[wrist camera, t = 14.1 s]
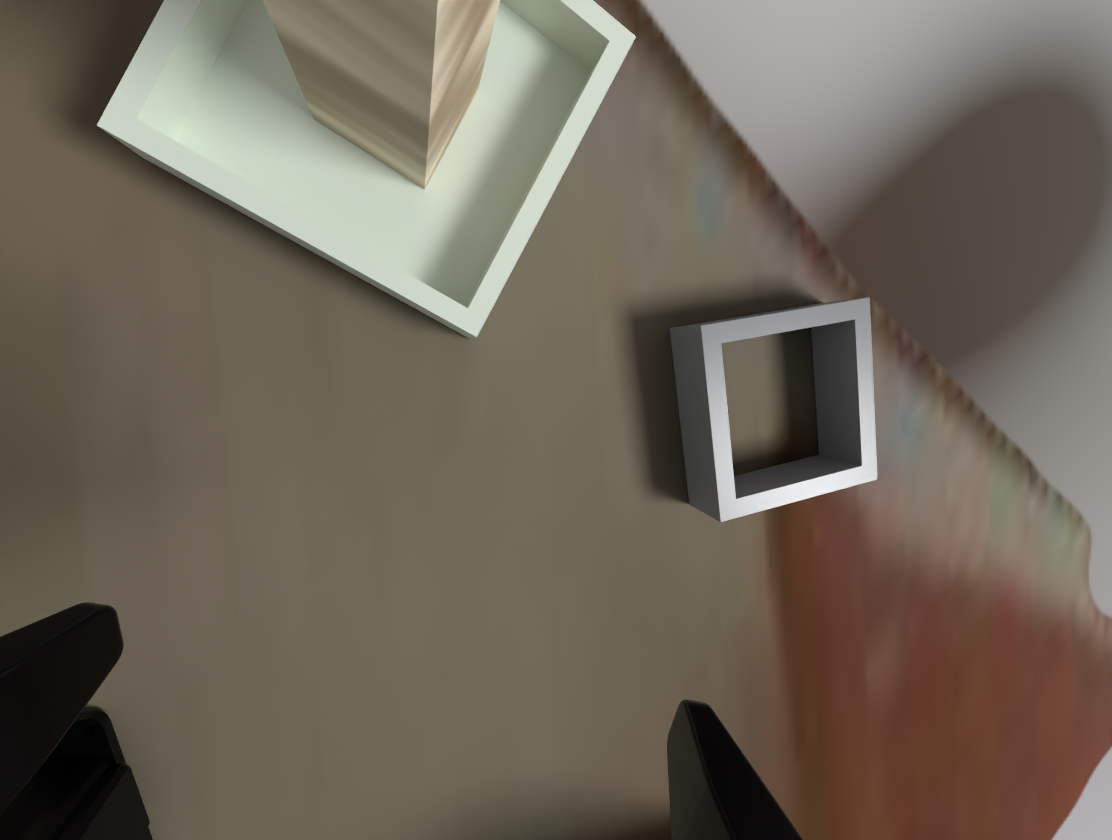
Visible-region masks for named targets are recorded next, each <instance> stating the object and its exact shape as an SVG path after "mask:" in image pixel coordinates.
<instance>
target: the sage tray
mask: <svg viewBox="0 0 1112 840" xmlns="http://www.w3.org/2000/svg"><path fill="white" fill-rule="evenodd" d="M635 37H636V36H635V35H633V34H632V33H631V32H630V31H629V30H627V29H626V28H625V27H624V26H623V25H622V24H620V23H619V22H618V21H617V20H616V19H614V18H613V17H612V16H611V15H610V14H608V13H607V12H606V11H605V10H604V9H602V8H601V7H600V6H599V5H598V4H597V3H595V2H594V1H593V0H500V3H499V7H498V11H497V15H496V19H495V23H494V27H493V31H492V35H491V39H490V43H489V47H488V51H487V55H486V59H485V63H484V67H483V71H482V75H481V79H480V84H479V88H478V91H477V93H476V95H475V97H474V99H473V100H472V102H471V104H470V106H469V108H468V110H467V112H466V114H465V115H464V117H463V119H462V121H461V123H460V125H459V127H458V128H457V130H456V132H455V134H454V136H453V138H452V140H451V142H450V143H449V145H448V147H447V149H446V151H445V153H444V155H443V156H442V158H441V160H440V162H439V164H438V166H437V168H436V169H435V171H434V173H433V175H432V177H431V179H430V181H429V183H428V184H427V186H426V188H425V189H423V188H421V187H420V186H418V185H417V184H415V183H414V182H412V181H410V180H409V179H407V178H406V177H404V176H403V175H401V174H399V173H398V172H396V171H395V170H393V169H392V168H390V167H388V166H387V165H385V164H384V163H382V162H381V161H379V160H377V159H376V158H374V157H373V156H371V155H370V154H368V153H366V152H365V151H363V150H362V149H360V148H358V147H357V146H355V145H354V144H352V143H351V142H349V141H347V140H346V139H344V138H343V137H341V136H340V135H338V134H336V133H335V132H333V131H332V130H330V129H329V128H327V127H325V126H324V125H322V124H321V123H319V122H318V121H316V120H314V118H313V116H312V114H311V111H310V109H309V107H308V104H307V102H306V100H305V97H304V95H303V93H302V90H301V88H300V86H299V84H298V81H297V79H296V77H295V74H294V72H293V70H292V67H291V65H290V63H289V60H288V58H287V56H286V54H285V51H284V49H283V47H282V44H281V42H280V40H279V37H278V35H277V33H276V30H275V28H274V26H273V23H272V21H271V19H270V17H269V14H268V12H267V10H266V7H265V5H264V3H263V0H164V1H163V3H162V5H161V7H160V9H159V11H158V13H157V14H156V16H155V18H154V20H153V22H152V24H151V26H150V27H149V29H148V31H147V33H146V35H145V37H144V38H143V40H142V42H141V44H140V46H139V48H138V50H137V51H136V53H135V55H134V57H133V59H132V61H131V63H130V64H129V66H128V68H127V70H126V72H125V74H124V76H123V77H122V79H121V81H120V83H119V85H118V87H117V89H116V90H115V92H114V94H113V96H112V98H111V100H110V102H109V103H108V105H107V107H106V109H105V111H104V113H103V115H102V116H101V118H100V120H99V122H98V124H97V126H98V127H100V128H101V129H103V130H104V131H105V132H107V133H108V134H110V135H111V136H113V137H114V138H115V139H117V140H118V141H120V142H121V143H122V144H124V145H125V146H127V147H128V148H130V149H131V150H132V151H134V152H135V153H137V154H138V155H139V156H141V157H142V158H144V159H146V160H147V161H149V162H151V163H153V164H155V165H156V166H158V167H160V168H162V169H164V170H165V171H167V172H169V173H171V174H173V175H174V176H176V177H178V178H180V179H182V180H183V181H185V182H187V183H189V184H191V185H192V186H194V187H196V188H198V189H200V190H202V191H203V192H205V193H207V194H209V195H211V196H212V197H214V198H216V199H218V200H220V201H221V202H223V203H225V204H227V205H229V206H230V207H232V208H234V209H236V210H238V211H239V212H241V213H243V214H245V215H247V216H248V217H250V218H252V219H254V220H256V221H257V222H259V223H261V224H263V225H265V226H267V227H268V228H270V229H272V230H274V231H276V232H277V233H279V234H281V235H283V236H285V237H286V238H288V239H290V240H292V241H294V242H295V243H297V244H299V245H301V246H303V247H304V248H306V249H308V250H310V251H312V252H313V253H315V254H317V255H319V256H321V257H323V258H324V259H326V260H328V261H330V262H332V263H333V264H335V265H337V266H339V267H341V268H342V269H344V270H346V271H348V272H350V273H351V274H353V275H355V276H357V277H359V278H360V279H362V280H364V281H366V282H368V283H369V284H371V285H373V286H375V287H377V288H378V289H380V290H382V291H384V292H386V293H388V294H389V295H391V296H393V297H395V298H397V299H398V300H400V301H402V302H404V303H406V304H407V305H409V306H411V307H413V308H415V309H416V310H418V311H420V312H422V313H424V314H425V315H427V316H429V317H431V318H433V319H434V320H436V321H438V322H440V323H442V324H443V325H445V326H447V327H449V328H451V329H453V330H454V331H456V332H458V333H460V334H462V335H463V336H465V337H467V338H469V339H470V338H475V337H477V336H478V334H479V332H480V330H481V328H482V326H483V324H484V322H485V321H486V319H487V317H488V315H489V313H490V311H491V309H492V307H493V305H494V304H495V302H496V300H497V298H498V296H499V294H500V292H501V290H502V289H503V287H504V285H505V283H506V281H507V279H508V277H509V275H510V273H511V272H512V270H513V268H514V266H515V264H516V262H517V260H518V258H519V256H520V255H521V253H522V251H523V249H524V247H525V245H526V243H527V241H528V239H529V238H530V236H531V234H532V232H533V230H534V228H535V226H536V224H537V222H538V221H539V219H540V217H541V215H542V213H543V211H544V209H545V207H546V205H547V204H548V202H549V200H550V198H551V196H552V194H553V192H554V190H555V188H556V187H557V185H558V183H559V181H560V179H561V177H562V175H563V173H564V171H565V170H566V168H567V166H568V164H569V162H570V160H571V158H572V156H573V154H574V153H575V151H576V149H577V147H578V145H579V143H580V141H581V139H582V138H583V136H584V134H585V132H586V130H587V128H588V126H589V124H590V122H591V121H592V119H593V117H594V115H595V113H596V111H597V109H598V107H599V105H600V104H601V102H602V100H603V98H604V96H605V94H606V92H607V90H608V88H609V87H610V85H611V83H612V81H613V79H614V77H615V75H616V73H617V71H618V70H619V68H620V66H621V64H622V62H623V60H624V58H625V56H626V54H627V53H628V51H629V49H630V47H631V45H632V43H633V41H634V39H635Z"/></svg>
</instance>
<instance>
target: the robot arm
mask: <svg viewBox="0 0 1112 840" xmlns="http://www.w3.org/2000/svg"><path fill="white" fill-rule="evenodd" d="M123 645H124V644H123V638H122V634H121V629H120V625H119V620H118V616H117V612H116V610H115V609H114V608H113V607H112V606H109V605H102V604H96V603H89V602H88V603H81V604H78V605H75V606H72V607H70V608H68V609H65V610H63V611H61V612H58V613H56V614H53V615H51V616H49V617H46V618H44V619H42V620H39V621H37V622H34V623H32V624H30V625H27V626H25V627H23V628H20V629H18V630H15V631H13V632H11V633H8V634H6V635H4V636H1V637H0V840H153V839H152V836H151V834H150V831H149V828H148V826H149V819H148V816H147V813H146V810H145V807H144V804H143V801H142V799H141V796H140V793H139V790H138V787H137V784H136V781H135V779H134V776H133V773H132V770H131V768H130V767H129V766H128V765H127V764H126V762H125V760H124V757H123V754H122V751H121V748H120V745H119V743H118V740H117V737H116V734H115V731H114V728H113V726H112V723H111V720H110V718H109V717H108V715H107V714H105V713H103V712H99V711H91V712H86V713H83V714H80V713H81V712H82V710H83V709H84V707H85V706H86V705H87V703H88V702H89V700H90V699H91V698H92V696H93V695H94V694H95V692H96V691H97V689H98V688H99V687H100V685H101V684H102V682H103V681H104V680H105V678H106V677H107V676H108V674H109V673H110V671H111V670H112V669H113V667H114V666H115V664H116V663H117V661H118V660H119V658H120V656H121V654H122V651H123ZM88 725H89V726H92V727H94V728H95V730H96V731H90V730H87V729H86V727H85V726H88ZM667 758H668V777H669V797H670V816H671V836H672V840H803V839H802V838H801V836H800V835H799V833H798V832H797V830H796V829H795V828H794V826H793V825H792V823H791V822H790V820H789V819H788V817H787V816H786V815H785V813H784V812H783V810H782V809H781V807H780V806H779V805H778V803H777V802H776V800H775V799H774V797H773V796H772V794H771V793H770V792H769V790H768V789H767V787H766V786H765V784H764V783H763V782H762V780H761V779H760V777H759V776H758V774H757V773H756V771H755V770H754V769H753V767H752V766H751V764H750V763H749V761H748V760H747V759H746V757H745V756H744V754H743V753H742V751H741V750H740V748H739V747H738V746H737V744H736V743H735V741H734V740H733V738H732V737H731V735H730V734H729V733H728V731H727V730H726V728H725V727H724V725H723V724H722V723H721V721H720V720H719V718H718V717H717V715H716V714H715V712H714V711H713V710H712V708H711V707H710V706H709V705H708V704H706V703H703V702H698V701H692V700H683V701H681V702H680V704H679V706H678V709H677V712H676V714H675V717H674V720H673V723H672V725H671V728H670V731H669V734H668V740H667Z"/></svg>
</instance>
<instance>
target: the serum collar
mask: <svg viewBox="0 0 1112 840" xmlns="http://www.w3.org/2000/svg"><path fill="white" fill-rule="evenodd" d="M810 327H811V336H812V351H813V367H814V383H815V399H816V415H817V430H818V446H819V455H816V456H812V457H808V458H804V459H800V460H796V461H792V462H788V463H784V464H780V465H776V466H772V467H768V468H764V469H760V470H756V471H752V472H748V473H744V474H740V475H736V476H734V473H733V462H732V452H731V441H730V430H729V420H728V409H727V399H726V388H725V378H724V367H723V356H722V346H721V343H726V342H731V341H737V340H743V339H748V338H754V337H759V336H765V335H771V334H776V333H782V332H787V331H793V330H799V329H804V328H810ZM670 336H671V345H672V354H673V363H674V372H675V381H676V390H677V399H678V408H679V417H680V426H681V435H682V444H683V452H684V461H685V470H686V479H687V488H688V497H689V504H690V505H691V506H693V507H695V508H697V509H698V510H700V511H702V512H704V513H706V514H707V515H709V516H711V517H713V518H714V519H716V520H718V521H720V522H723V521H726V520H730V519H734V518H737V517H741V516H745V515H748V514H752V513H756V512H759V511H763V510H767V509H770V508H774V507H778V506H781V505H785V504H789V503H792V502H796V501H799V500H803V499H807V498H810V497H814V496H818V495H821V494H825V493H829V492H832V491H836V490H840V489H843V488H847V487H851V486H854V485H858V484H862V483H865V482H869V481H873V480H876V479H877V458H876V435H875V412H874V388H873V365H872V341H871V318H870V297H869V298H861V299H852V300H843V301H835V302H826V303H819V304H813V305H807V306H801V307H795V308H789V309H783V310H777V311H771V312H765V313H759V314H753V315H747V316H741V317H735V318H729V319H722V320H716V321H710V322H704V323H698V324H692V325H686V326H680V327H674V328H670Z"/></svg>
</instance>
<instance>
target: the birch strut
mask: <svg viewBox="0 0 1112 840" xmlns="http://www.w3.org/2000/svg"><path fill="white" fill-rule="evenodd" d="M263 3H264V5H265V7H266V10H267V12H268V14H269V17H270V19H271V21H272V23H273V26H274V28H275V30H276V33H277V35H278V37H279V40H280V42H281V44H282V47H283V49H284V51H285V54H286V56H287V58H288V60H289V63H290V65H291V67H292V70H293V72H294V74H295V77H296V79H297V81H298V84H299V86H300V88H301V90H302V93H303V95H304V97H305V100H306V102H307V104H308V107H309V109H310V111H311V114H312V116H313V118H314V120H316V121H318V122H319V123H321V124H322V125H324V126H325V127H327V128H329V129H330V130H332V131H333V132H335V133H336V134H338V135H340V136H341V137H343V138H344V139H346V140H347V141H349V142H351V143H352V144H354V145H355V146H357V147H358V148H360V149H362V150H363V151H365V152H366V153H368V154H370V155H371V156H373V157H374V158H376V159H377V160H379V161H381V162H382V163H384V164H385V165H387V166H388V167H390V168H392V169H393V170H395V171H396V172H398V173H399V174H401V175H403V176H404V177H406V178H407V179H409V180H410V181H412V182H414V183H415V184H417V185H418V186H420V187H421V188H423V189H425V188H426V186H427V184H428V183H429V181H430V179H431V177H432V175H433V173H434V171H435V169H436V168H437V166H438V164H439V162H440V160H441V158H442V156H443V155H444V153H445V151H446V149H447V147H448V145H449V143H450V142H451V140H452V138H453V136H454V134H455V132H456V130H457V128H458V127H459V125H460V123H461V121H462V119H463V117H464V115H465V114H466V112H467V110H468V108H469V106H470V104H471V102H472V100H473V99H474V97H475V95H476V93H477V91H478V88H479V84H480V79H481V75H482V71H483V67H484V63H485V59H486V55H487V51H488V47H489V43H490V39H491V35H492V31H493V27H494V23H495V19H496V15H497V11H498V7H499V3H500V0H263Z"/></svg>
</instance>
